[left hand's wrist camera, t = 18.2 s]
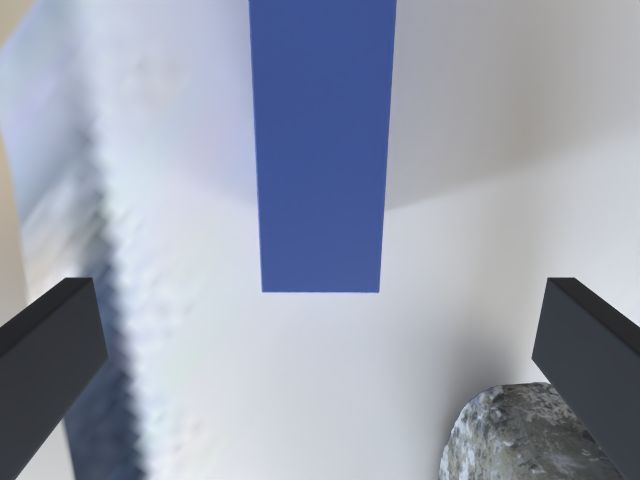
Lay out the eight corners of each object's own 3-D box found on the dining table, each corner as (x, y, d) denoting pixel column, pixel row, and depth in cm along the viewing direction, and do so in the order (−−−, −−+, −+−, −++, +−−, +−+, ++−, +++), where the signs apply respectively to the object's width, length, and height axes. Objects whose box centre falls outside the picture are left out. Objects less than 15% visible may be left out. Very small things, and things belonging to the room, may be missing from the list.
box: (358, 220, 33) (379, 293, 21) (282, 220, 33) (261, 293, 21) (376, -242, 24) (429, -544, 12) (270, -242, 24) (223, -546, 12)
